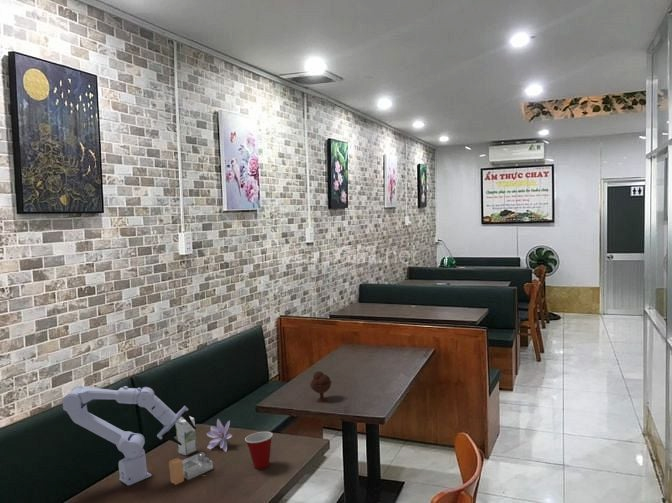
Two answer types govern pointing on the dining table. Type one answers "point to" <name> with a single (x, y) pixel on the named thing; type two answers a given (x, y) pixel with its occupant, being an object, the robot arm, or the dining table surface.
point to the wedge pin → (176, 471)
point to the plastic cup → (260, 448)
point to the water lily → (219, 435)
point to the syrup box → (186, 436)
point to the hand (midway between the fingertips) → (188, 436)
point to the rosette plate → (196, 465)
